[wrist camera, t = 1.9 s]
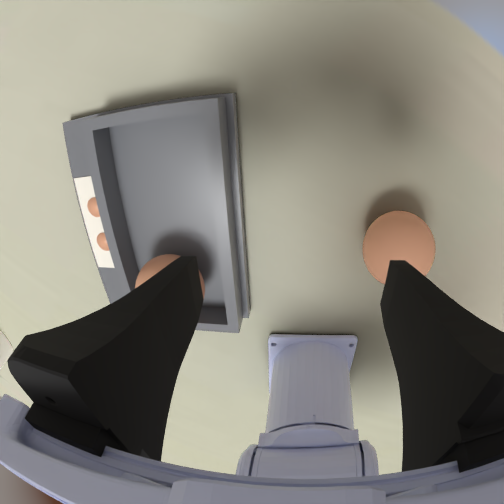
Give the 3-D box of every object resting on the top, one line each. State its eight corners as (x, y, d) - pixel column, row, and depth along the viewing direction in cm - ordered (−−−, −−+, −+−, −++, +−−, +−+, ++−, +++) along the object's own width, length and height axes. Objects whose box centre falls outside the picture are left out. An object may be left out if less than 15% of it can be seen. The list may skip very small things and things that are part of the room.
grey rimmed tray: (250, 310, 26) (245, 335, 23) (116, 300, 28) (102, 320, 25) (235, 92, 17) (225, 93, 15) (70, 120, 19) (45, 128, 17)
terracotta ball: (413, 261, 22) (434, 302, 17) (353, 261, 22) (364, 303, 18) (425, 201, 19) (455, 233, 15) (360, 197, 20) (377, 230, 16)
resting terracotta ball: (215, 297, 24) (200, 343, 20) (158, 294, 25) (135, 335, 21) (207, 241, 22) (186, 283, 18) (144, 241, 23) (114, 278, 18)
